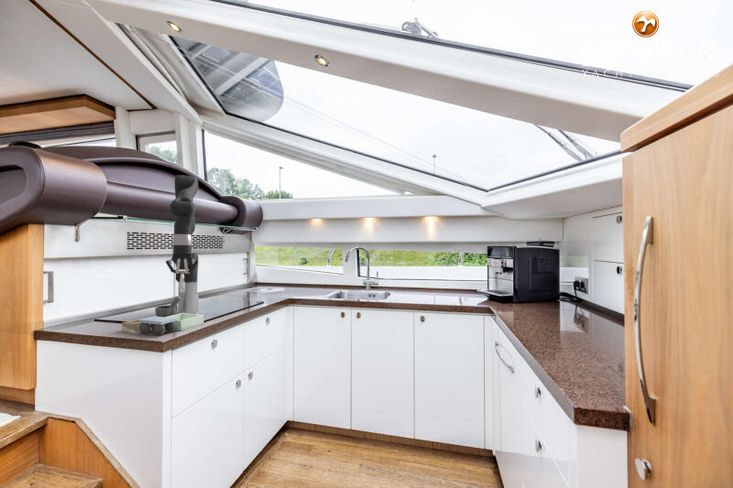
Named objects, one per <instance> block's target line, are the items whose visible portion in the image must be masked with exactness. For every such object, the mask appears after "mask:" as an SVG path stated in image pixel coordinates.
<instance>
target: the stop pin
mask: <svg viewBox="0 0 733 488" xmlns="http://www.w3.org/2000/svg"><path fill="white" fill-rule="evenodd" d="M184 292H185V270H179V293H184Z"/></svg>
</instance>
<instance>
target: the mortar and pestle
mask: <svg viewBox="0 0 733 488" xmlns="http://www.w3.org/2000/svg"><path fill="white" fill-rule="evenodd" d="M180 300H181V298H180V297H178V296H177V295H176V296H175V297H174V299H173V301H171V303H170V304H169V305H167V304H166V305H159V306H156V307H155V308H154V309H155V311H154V312H155V316H157V317H167V316H171V315H176V314H178V302H179V301H180Z"/></svg>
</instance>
